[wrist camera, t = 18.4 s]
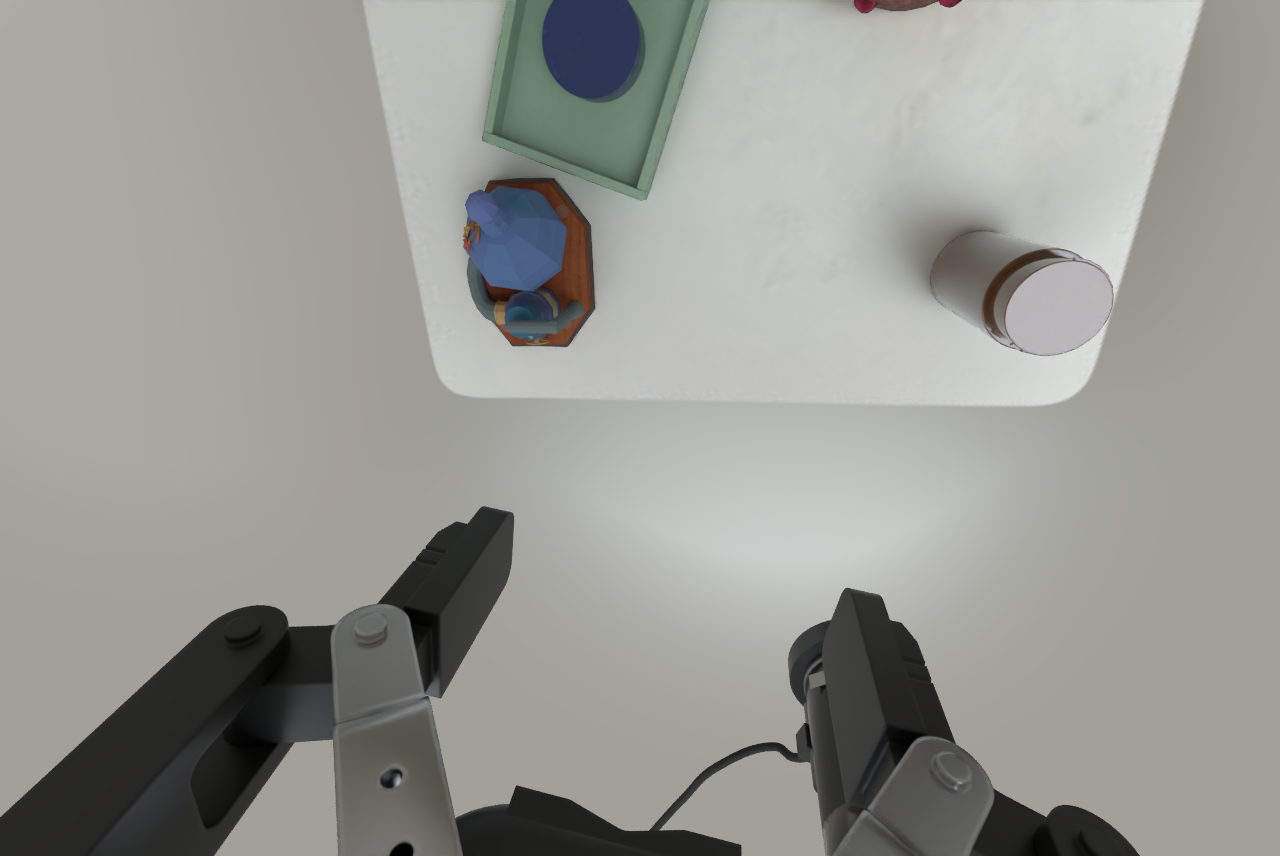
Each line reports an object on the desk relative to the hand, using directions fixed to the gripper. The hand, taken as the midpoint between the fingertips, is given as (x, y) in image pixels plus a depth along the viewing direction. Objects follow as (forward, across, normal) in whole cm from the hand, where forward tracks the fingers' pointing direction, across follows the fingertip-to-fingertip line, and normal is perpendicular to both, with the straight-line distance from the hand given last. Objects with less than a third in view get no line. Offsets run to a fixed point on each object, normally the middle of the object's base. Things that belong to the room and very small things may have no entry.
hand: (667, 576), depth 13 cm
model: (+30, +14, 0) cm, 33 cm away
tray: (+30, +10, -14) cm, 35 cm away
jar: (+30, -16, -5) cm, 34 cm away
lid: (+28, +10, -14) cm, 33 cm away
